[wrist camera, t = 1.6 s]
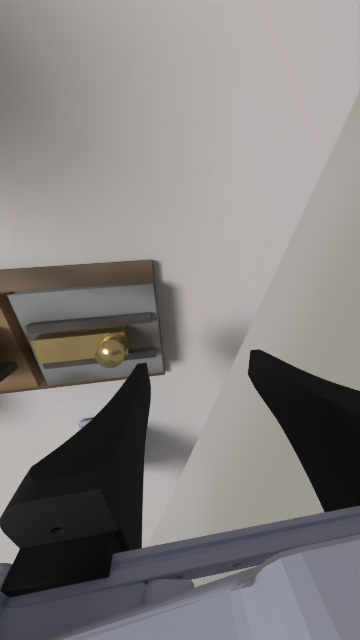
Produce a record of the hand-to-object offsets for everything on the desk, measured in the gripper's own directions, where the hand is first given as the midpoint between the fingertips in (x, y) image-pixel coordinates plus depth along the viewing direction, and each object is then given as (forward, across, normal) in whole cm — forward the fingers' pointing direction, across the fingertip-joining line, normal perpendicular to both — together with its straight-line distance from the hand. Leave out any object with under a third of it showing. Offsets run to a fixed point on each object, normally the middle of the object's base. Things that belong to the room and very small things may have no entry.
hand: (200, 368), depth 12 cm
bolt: (+6, +10, 0) cm, 12 cm away
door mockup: (+9, +16, 0) cm, 18 cm away
